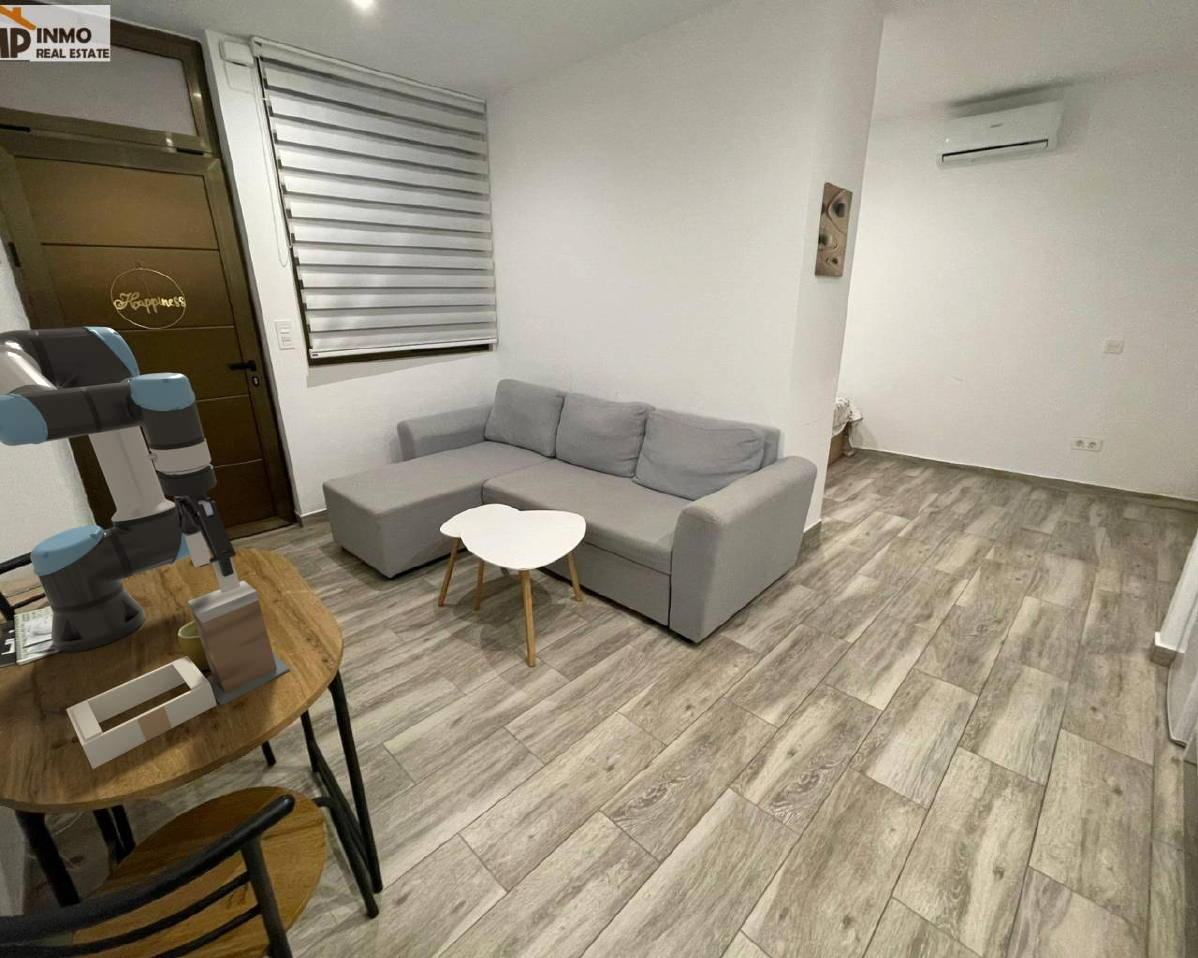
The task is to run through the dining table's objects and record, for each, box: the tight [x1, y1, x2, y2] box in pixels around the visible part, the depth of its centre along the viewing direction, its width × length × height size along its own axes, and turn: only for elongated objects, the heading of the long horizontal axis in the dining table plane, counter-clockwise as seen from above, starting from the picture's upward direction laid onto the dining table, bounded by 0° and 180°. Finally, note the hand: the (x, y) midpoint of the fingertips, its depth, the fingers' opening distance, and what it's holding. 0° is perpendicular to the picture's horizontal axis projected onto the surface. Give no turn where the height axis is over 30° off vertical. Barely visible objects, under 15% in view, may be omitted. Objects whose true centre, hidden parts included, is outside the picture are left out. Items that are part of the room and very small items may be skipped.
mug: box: [177, 620, 210, 672], centre depth 108 cm, size 12×10×10 cm
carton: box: [65, 656, 218, 770], centre depth 92 cm, size 12×17×5 cm
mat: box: [205, 652, 291, 706], centre depth 103 cm, size 10×12×1 cm
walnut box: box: [187, 580, 277, 694], centre depth 100 cm, size 6×9×18 cm
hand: (216, 576), depth 96 cm, fingers open, 13 cm apart
